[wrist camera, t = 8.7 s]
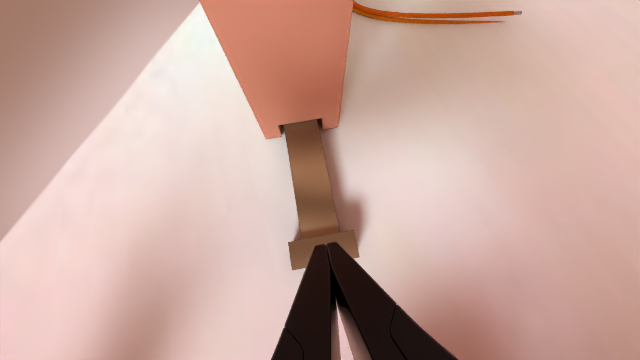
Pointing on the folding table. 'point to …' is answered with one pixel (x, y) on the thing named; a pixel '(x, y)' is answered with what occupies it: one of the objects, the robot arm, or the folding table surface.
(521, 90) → the folding table surface
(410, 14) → the motor
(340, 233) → the rail
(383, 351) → the robot arm
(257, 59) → the block
